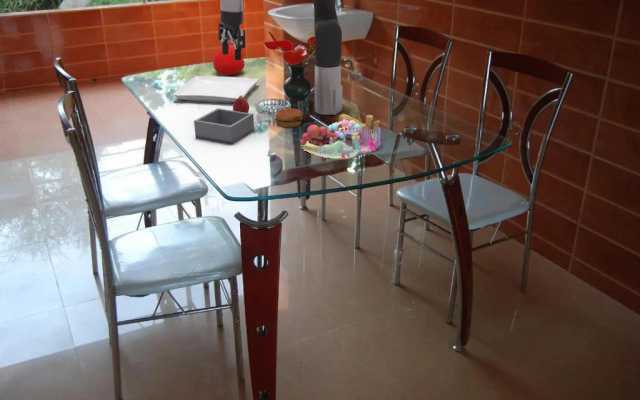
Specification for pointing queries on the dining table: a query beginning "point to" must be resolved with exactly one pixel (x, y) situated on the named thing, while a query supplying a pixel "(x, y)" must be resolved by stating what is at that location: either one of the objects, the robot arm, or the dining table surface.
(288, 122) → the burger
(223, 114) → the bin
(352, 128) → the candy dessert platter
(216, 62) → the tomato
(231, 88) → the square plate
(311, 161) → the dining table surface
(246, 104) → the onion
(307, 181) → the dining table surface
